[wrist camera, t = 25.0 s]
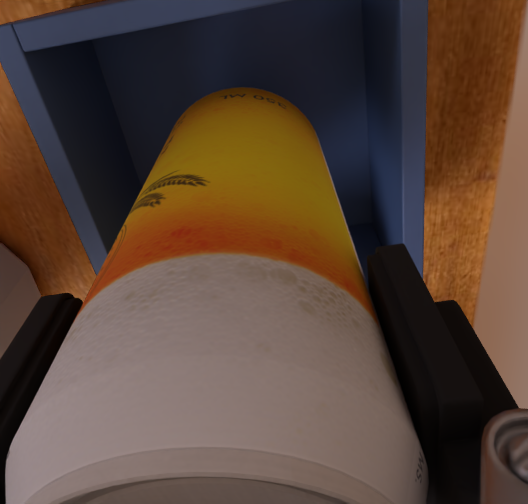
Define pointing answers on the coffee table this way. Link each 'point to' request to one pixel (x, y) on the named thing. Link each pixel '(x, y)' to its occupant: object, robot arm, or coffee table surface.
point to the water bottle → (14, 296)
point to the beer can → (225, 339)
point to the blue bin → (223, 77)
